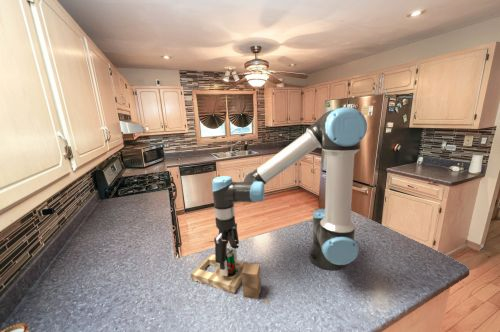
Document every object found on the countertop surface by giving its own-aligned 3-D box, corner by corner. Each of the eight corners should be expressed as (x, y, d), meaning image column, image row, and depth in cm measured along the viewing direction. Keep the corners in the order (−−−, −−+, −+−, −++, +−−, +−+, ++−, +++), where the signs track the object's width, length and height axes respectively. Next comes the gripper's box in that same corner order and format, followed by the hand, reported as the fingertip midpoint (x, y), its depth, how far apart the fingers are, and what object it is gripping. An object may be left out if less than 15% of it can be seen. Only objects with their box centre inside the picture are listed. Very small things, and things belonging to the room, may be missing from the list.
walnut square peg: (261, 287, 78) (259, 264, 77) (258, 299, 73) (256, 274, 71) (247, 285, 80) (245, 262, 78) (243, 297, 75) (241, 272, 73)
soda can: (239, 276, 85) (236, 250, 83) (229, 283, 81) (227, 256, 79) (230, 271, 88) (228, 245, 86) (221, 277, 85) (218, 251, 82)
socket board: (249, 269, 89) (249, 263, 88) (234, 293, 76) (233, 286, 76) (211, 259, 97) (210, 253, 96) (191, 280, 84) (190, 273, 84)
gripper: (229, 205, 90) (233, 252, 95) (201, 226, 72) (207, 283, 77) (244, 207, 87) (248, 255, 92) (219, 230, 69) (224, 288, 74)
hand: (229, 268), depth 84 cm, fingers open, 7 cm apart
